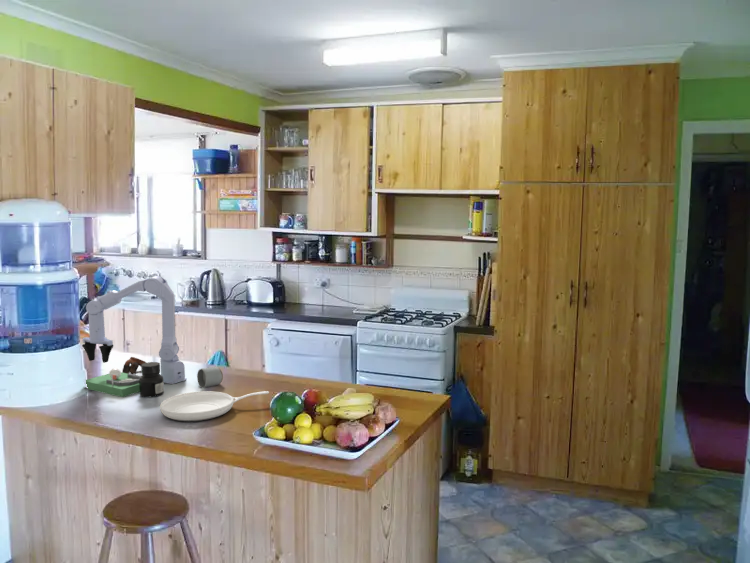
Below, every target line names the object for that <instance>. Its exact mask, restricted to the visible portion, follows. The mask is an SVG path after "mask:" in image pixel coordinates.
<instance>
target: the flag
mask: <svg viewBox="0 0 750 563" xmlns="http://www.w3.org/2000/svg"><path fill="white" fill-rule="evenodd" d="M111 376H112V387H114V382H113V379H115V380H117V376H116V375H113V374H111Z"/></svg>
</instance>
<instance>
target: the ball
mask: <svg viewBox="0 0 750 563" xmlns="http://www.w3.org/2000/svg"><path fill="white" fill-rule="evenodd" d="M108 374H109V376H110V378H112V376H111V374H113V375H116V376H117V379H118V378H119V377H120V376H121V370H120V369H119V368H115V367H114V368H112V369H111V370H110V371H109V373H108Z"/></svg>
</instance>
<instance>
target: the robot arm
mask: <svg viewBox="0 0 750 563" xmlns="http://www.w3.org/2000/svg"><path fill="white" fill-rule="evenodd" d="M136 292H147V293H149V294H151V295H154V296H156V297H157V298H158V299H160V300H161V312H162V313H161V322H162V323H161V324H162V325H161V326H162V328H161V330H162V332H161V333H162V335H161V336H162V337H161V338H162V339H161V342H160V343H161V344H160V349H159V351H158V356H159V358H160V362H159V363H160V375H162V376H163V382H164V383H165V384H168V385H169V384H170V385H175V384H176V383H180V382H183V381H187V378H186V372H185V371H186V370H185V364H184V362H183V361H180V359H179V356H178V353H179V351H180V346H179V345H178V343H177V337H176V325H175V322H176V318H175V316H176V314H175V310H176V309H175V308H176V307H175V305H176V304H175V301H176V300H175V293H174V291H173V290H172V288H171V286H170V285H169V284H168V281H167V280H166V279H165V278H164V277H162V276H160V275H153V276H152V277H148V278H144V279H141V280H138V281H137V282H134V283H132V284H131V285H128V286H127V287H124V288H123V289H121V290H119V291H118V290H111V289H110V290H107V292H106V293H105V294H102V295H97V297H95V299H92V300H90V301H88V303H86V305H85V310H86V312H87V313H88V332H89V337H86V336H85V337H82V343H83V344H82V345H81V346H82V348H83V349H84V350H85V353H86V355H87V358H88V361H89V362H91V361H94V360H95V359H96V358H95V357H96V356H95V354H96V347H97V345H98V348H99V350H100V353H101V359H102V363H107V362H109V359H110V355H111V352H112V349H113V348H114V344H113V343H114V342H113V341H114V340H113V339H110V338H109V339H108V338H107V337H106V332H105V331H106V330H105V317H104V316H105V314H104V311H105V310H109V309H110V308H112V307H115V306H117V305H118V304H120V303H121V302H122V299H123V298H126V297H128V296H130V295H132V294H134V293H136Z"/></svg>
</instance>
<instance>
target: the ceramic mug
mask: <svg viewBox="0 0 750 563" xmlns="http://www.w3.org/2000/svg"><path fill="white" fill-rule="evenodd" d="M223 375H224V374H223V371H222V369H221V368H220V367H217V366H216V367H215V366H214V367H213V366H212V367H204V368H199V370H198V371H197V374H196V377H197V378H196V379H197V384H198V386H199V387H200V388H210V387H213V386H218V385H221V383H222V382H223V378H224V376H223Z"/></svg>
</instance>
